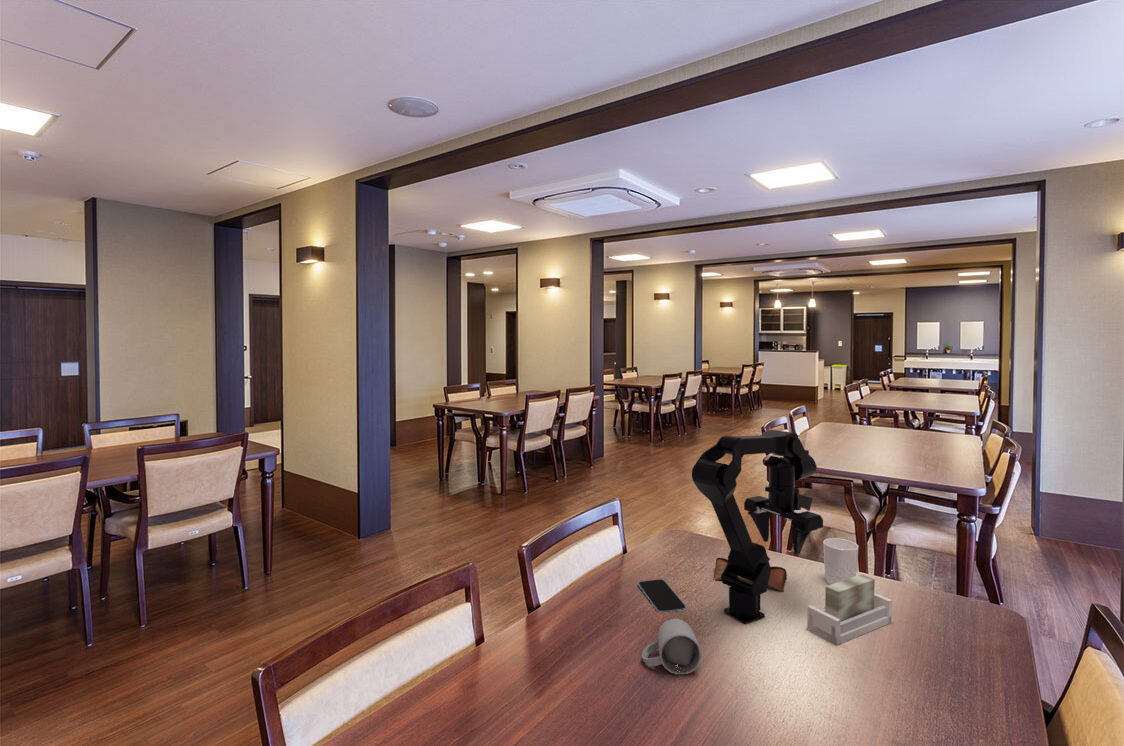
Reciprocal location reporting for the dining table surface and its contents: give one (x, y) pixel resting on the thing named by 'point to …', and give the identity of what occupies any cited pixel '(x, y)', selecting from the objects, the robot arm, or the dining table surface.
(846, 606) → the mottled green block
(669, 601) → the smartphone
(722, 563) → the sunglasses case
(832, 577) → the white cup
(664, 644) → the ceramic mug
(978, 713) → the dining table surface
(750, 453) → the robot arm
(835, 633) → the cabinet track
